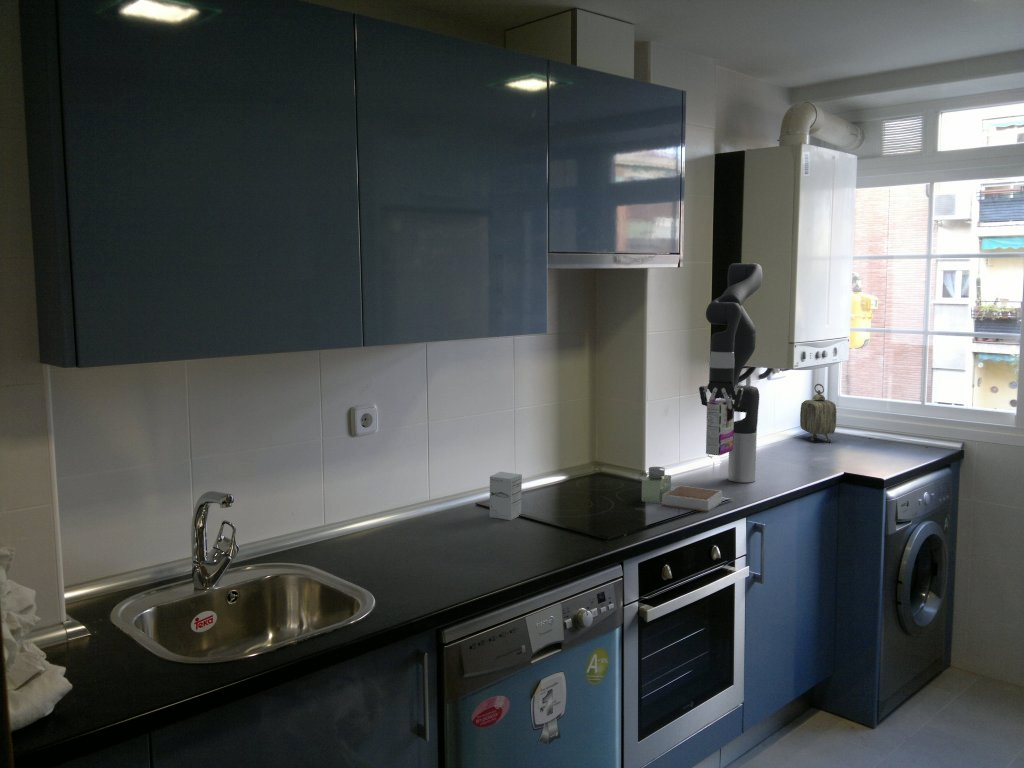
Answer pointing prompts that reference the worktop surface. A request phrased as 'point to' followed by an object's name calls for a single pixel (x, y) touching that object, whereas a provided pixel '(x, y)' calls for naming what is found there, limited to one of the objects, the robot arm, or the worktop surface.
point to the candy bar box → (719, 428)
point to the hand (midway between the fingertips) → (720, 419)
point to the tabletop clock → (818, 415)
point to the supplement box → (505, 495)
